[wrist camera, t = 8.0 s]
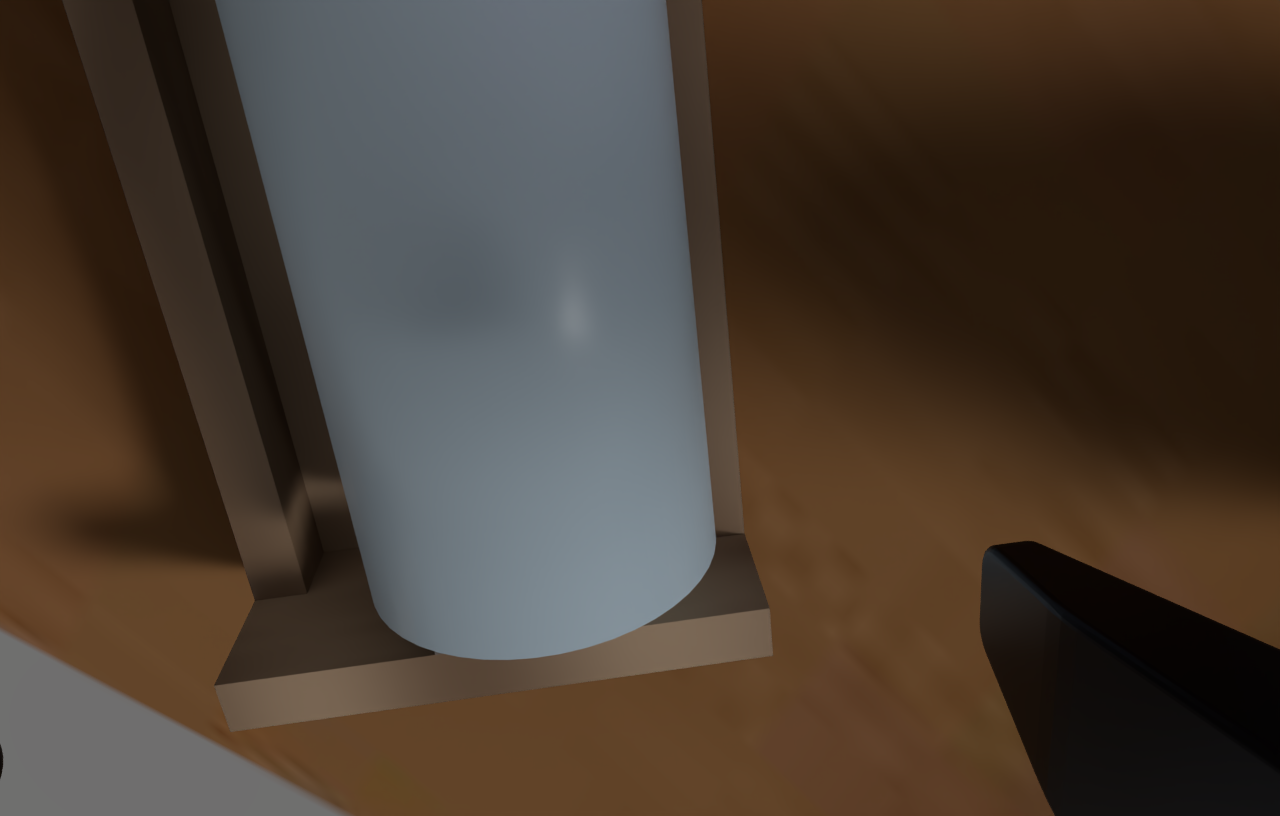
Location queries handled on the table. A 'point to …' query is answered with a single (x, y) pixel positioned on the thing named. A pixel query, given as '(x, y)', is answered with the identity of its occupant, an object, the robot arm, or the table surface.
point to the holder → (290, 404)
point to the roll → (492, 304)
